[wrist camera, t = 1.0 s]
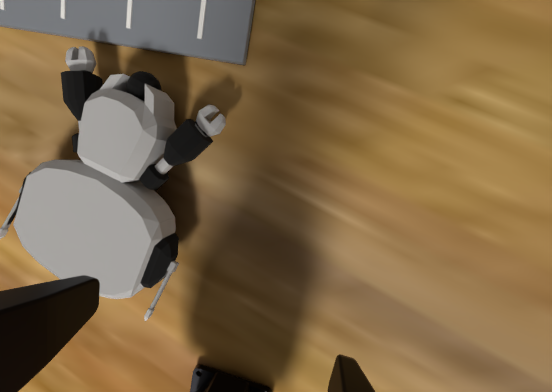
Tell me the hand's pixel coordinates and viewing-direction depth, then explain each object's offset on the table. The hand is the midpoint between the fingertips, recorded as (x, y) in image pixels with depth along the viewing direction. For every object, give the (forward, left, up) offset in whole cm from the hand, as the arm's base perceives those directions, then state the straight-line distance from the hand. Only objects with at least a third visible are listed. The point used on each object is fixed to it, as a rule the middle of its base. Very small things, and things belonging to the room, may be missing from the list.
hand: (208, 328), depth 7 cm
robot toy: (0, +11, -12) cm, 17 cm away
